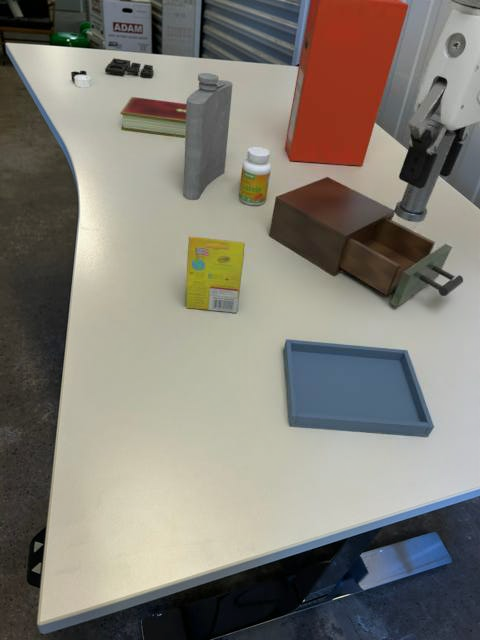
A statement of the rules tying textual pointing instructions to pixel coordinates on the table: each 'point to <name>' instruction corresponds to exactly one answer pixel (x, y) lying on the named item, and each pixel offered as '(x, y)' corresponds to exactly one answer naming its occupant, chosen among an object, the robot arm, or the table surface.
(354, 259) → the drawer
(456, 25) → the robot arm
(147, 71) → the black white parts set
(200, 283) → the crayon box
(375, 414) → the tray
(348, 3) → the file binder
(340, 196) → the cabinet
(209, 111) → the hip flask
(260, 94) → the table surface
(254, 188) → the supplement bottle
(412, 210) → the grey rod with base
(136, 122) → the hardcover book
